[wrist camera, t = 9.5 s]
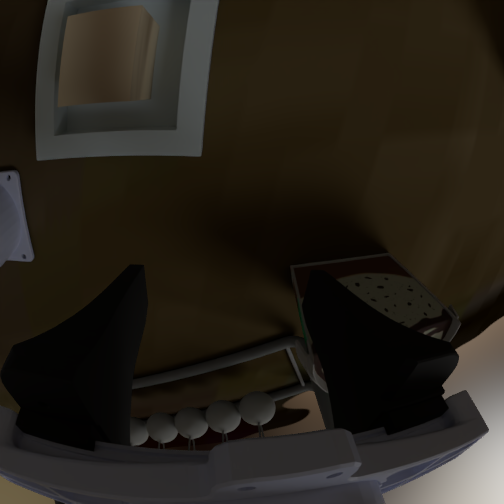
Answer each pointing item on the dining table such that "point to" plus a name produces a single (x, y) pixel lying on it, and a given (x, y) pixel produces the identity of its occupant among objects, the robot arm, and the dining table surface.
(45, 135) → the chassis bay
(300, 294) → the food container
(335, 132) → the dining table surface
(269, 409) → the newton's cradle
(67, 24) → the beige cardboard-like cube
